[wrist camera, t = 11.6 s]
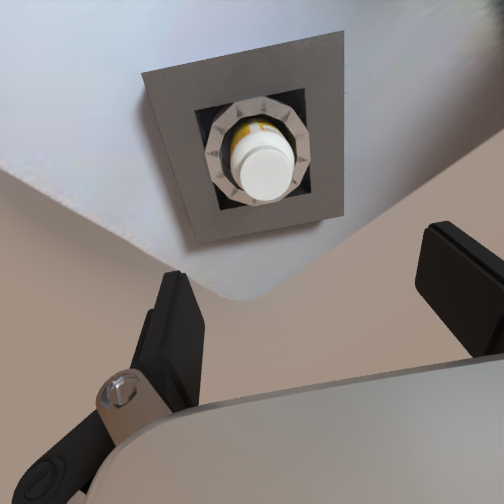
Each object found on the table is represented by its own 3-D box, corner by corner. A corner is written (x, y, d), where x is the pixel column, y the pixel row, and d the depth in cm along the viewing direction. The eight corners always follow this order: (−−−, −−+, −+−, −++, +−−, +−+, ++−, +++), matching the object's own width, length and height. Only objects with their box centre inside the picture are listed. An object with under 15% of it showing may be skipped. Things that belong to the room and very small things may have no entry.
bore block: (330, 33, 25) (346, 29, 22) (333, 202, 34) (345, 217, 31) (150, 71, 26) (139, 73, 22) (199, 228, 34) (197, 246, 31)
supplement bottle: (277, 111, 28) (298, 131, 20) (285, 165, 31) (305, 201, 23) (223, 124, 28) (223, 148, 20) (236, 176, 31) (239, 215, 23)
